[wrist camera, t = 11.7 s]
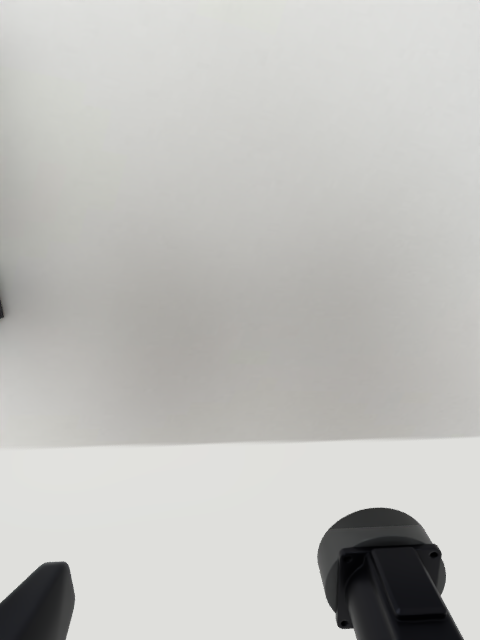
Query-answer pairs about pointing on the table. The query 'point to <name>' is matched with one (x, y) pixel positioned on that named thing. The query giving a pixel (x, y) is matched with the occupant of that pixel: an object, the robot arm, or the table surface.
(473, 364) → the table surface
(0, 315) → the dark gray pronged block
